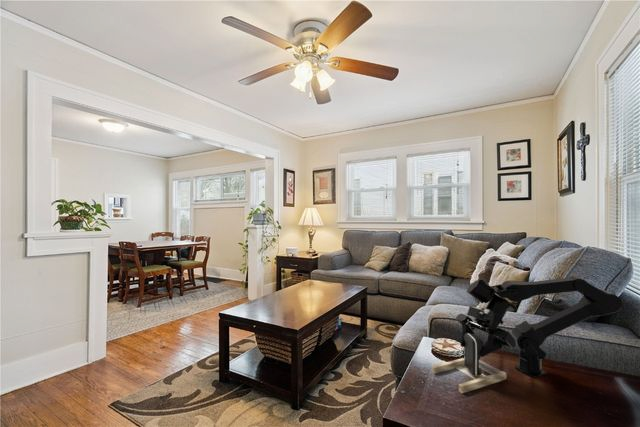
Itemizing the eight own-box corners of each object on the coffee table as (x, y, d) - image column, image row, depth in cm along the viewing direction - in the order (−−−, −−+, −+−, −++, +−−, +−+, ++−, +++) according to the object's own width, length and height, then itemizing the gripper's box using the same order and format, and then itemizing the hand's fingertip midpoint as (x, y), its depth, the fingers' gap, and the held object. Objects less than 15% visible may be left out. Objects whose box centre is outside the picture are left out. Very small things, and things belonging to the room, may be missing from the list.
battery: (485, 376, 93) (485, 340, 93) (473, 376, 94) (473, 340, 93) (475, 365, 100) (475, 331, 100) (463, 364, 100) (463, 331, 100)
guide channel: (472, 361, 105) (472, 355, 105) (506, 379, 94) (506, 373, 94) (431, 372, 98) (431, 366, 98) (461, 393, 87) (461, 386, 87)
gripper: (459, 291, 107) (435, 326, 103) (509, 305, 90) (483, 349, 86) (475, 309, 110) (453, 344, 106) (526, 327, 93) (502, 370, 89)
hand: (470, 351), depth 96 cm, fingers closed on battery, 7 cm apart
